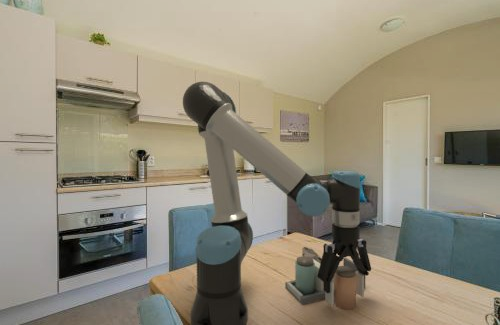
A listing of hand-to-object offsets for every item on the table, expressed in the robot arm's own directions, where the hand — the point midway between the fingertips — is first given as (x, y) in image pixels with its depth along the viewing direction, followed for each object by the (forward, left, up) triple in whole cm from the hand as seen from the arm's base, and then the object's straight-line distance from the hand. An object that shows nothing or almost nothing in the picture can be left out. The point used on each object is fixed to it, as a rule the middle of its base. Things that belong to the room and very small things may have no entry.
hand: (344, 298), depth 74 cm
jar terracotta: (0, 0, -1) cm, 1 cm away
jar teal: (-8, +9, -1) cm, 12 cm away
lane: (0, +9, -1) cm, 9 cm away
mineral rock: (+7, +26, -2) cm, 27 cm away
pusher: (-3, +9, 0) cm, 10 cm away
